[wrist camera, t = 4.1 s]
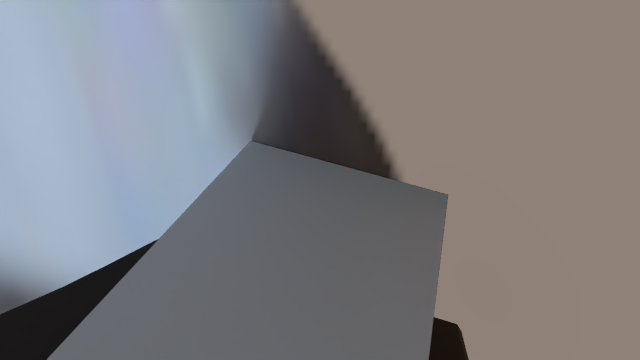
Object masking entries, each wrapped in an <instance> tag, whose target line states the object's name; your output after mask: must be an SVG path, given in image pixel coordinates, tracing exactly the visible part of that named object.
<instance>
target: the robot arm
mask: <svg viewBox="0 0 640 360" xmlns="http://www.w3.org/2000/svg"><path fill="white" fill-rule="evenodd" d="M158 240H159V239H158ZM158 240H156V241H154V242H152V243H150V244H148V245H146V246H144V247H142V248H140V249H138V250H136V251H134V252H132V253H130V254H128V255H126V256H124V257H122V258H120V259H118V260H116V261H114V262H113V263H111V264H109V265H107V266H105V267H103V268H101V269H99V270H97V271H95V272H92V273H90V274H88V275H86V276H84V277H82V278H80V279H78V280H76V281H74V282H72V283H70V284H68V285H66V286H64V287H62V288H60V289H57V290H55V291H53V292H51V293H48V294H46V295H44V296H41V297H39V298H37V299H35V300H32V301H30V302H28V303H26V304H23V305H21V306H19V307H16V308H14V309H12V310H10V311H7V312H5V313H3V314H0V360H47V359H48V358H49V357H50V355H51V354H52V353H53V352H54V351H55V350H56V349H57V348H58V347H59V346H60V345H61V344H62V343H63V341H64V340H65V339H66V338H67V337H68V336H69V335H70V334H71V333H72V332H73V331H74V330H75V329H76V328H77V326H78V325H79V324H80V323H81V322H82V321H83V320H84V319H85V318H86V317H87V316H88V315H89V314H90V313H91V311H92V310H93V309H94V308H95V307H96V306H97V305H98V304H99V303H100V302H101V301H102V300H103V299H104V298H105V296H106V295H107V294H108V293H109V292H110V291H111V290H112V289H113V288H114V287H115V286H116V285H117V284H118V282H119V281H120V280H121V279H122V278H123V277H124V276H125V275H126V274H127V273H128V272H129V271H130V270H131V269H132V267H133V266H134V265H135V264H136V263H137V262H138V261H139V260H140V259H141V258H142V257H143V256H144V255H145V254H146V252H147V251H148V250H149V249H150V248H151V247H152V246H153V245H154V244H155V243H156V242H157V241H158ZM429 360H469V359H468V356H467V352H466V348H465V344H464V341H463V337H462V332H461V331H460V328H459V327H458V325H457V324H454V323H451V322H448V321H444V320H441V319H438V318H435V317H434V318H433V327H432V335H431V344H430V352H429Z"/></svg>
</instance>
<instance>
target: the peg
mask: <svg viewBox="0 0 640 360" xmlns="http://www.w3.org/2000/svg"><path fill="white" fill-rule="evenodd" d="M447 199H448V195H447V194H444V193H440V192H436V191H432V190H429V189H425V188H422V187H418V186H414V185H410V184H407V183H403V182H400V181H396V180H392V179H389V178H385V177H381V176H378V175H374V174H370V173H367V172H363V171H359V170H356V169H352V168H348V167H345V166H341V165H337V164H334V163H330V162H326V161H323V160H319V159H315V158H312V157H308V156H304V155H301V154H297V153H293V152H290V151H286V150H282V149H279V148H275V147H271V146H268V145H264V144H260V143H257V142H253V141H250V142H249V143H248V144H247V145H246V146H245V147H244V148H243V149H242V151H241V152H240V153H239V154H238V155H237V156H236V157H235V158H234V159H233V160H232V161H231V162H230V163H229V165H228V166H227V167H226V168H225V169H224V170H223V171H222V172H221V173H220V174H219V175H218V176H217V177H216V178H215V180H214V181H213V182H212V183H211V184H210V185H209V186H208V187H207V188H206V189H205V190H204V191H203V192H202V193H201V195H200V196H199V197H198V198H197V199H196V200H195V201H194V202H193V203H192V204H191V205H190V206H189V207H188V208H187V210H186V211H185V212H184V213H183V214H182V215H181V216H180V217H179V218H178V219H177V220H176V221H175V222H174V224H173V225H172V226H171V227H170V228H169V229H168V230H167V231H166V232H165V233H164V234H163V235H162V236H161V237H160V239H159V240H158V241H157V242H156V243H155V244H154V245H153V246H152V247H151V248H150V249H149V250H148V251H147V252H146V254H145V255H144V256H143V257H142V258H141V259H140V260H139V261H138V262H137V263H136V264H135V265H134V266H133V267H132V269H131V270H130V271H129V272H128V273H127V274H126V275H125V276H124V277H123V278H122V279H121V280H120V281H119V282H118V284H117V285H116V286H115V287H114V288H113V289H112V290H111V291H110V292H109V293H108V294H107V295H106V296H105V298H104V299H103V300H102V301H101V302H100V303H99V304H98V305H97V306H96V307H95V308H94V309H93V310H92V311H91V313H90V314H89V315H88V316H87V317H86V318H85V319H84V320H83V321H82V322H81V323H80V324H79V325H78V326H77V328H76V329H75V330H74V331H73V332H72V333H71V334H70V335H69V336H68V337H67V338H66V339H65V340H64V341H63V343H62V344H61V345H60V346H59V347H58V348H57V349H56V350H55V351H54V352H53V353H52V354H51V355H50V357H49V358H48V359H47V360H429V352H430V344H431V335H432V327H433V318H434V310H435V301H436V293H437V284H438V276H439V267H440V259H441V250H442V242H443V234H444V225H445V216H446V208H447Z"/></svg>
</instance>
